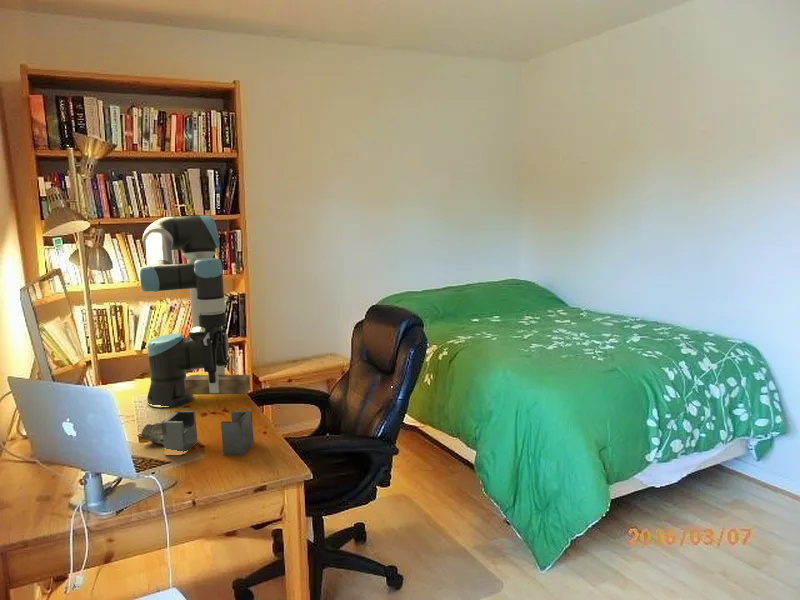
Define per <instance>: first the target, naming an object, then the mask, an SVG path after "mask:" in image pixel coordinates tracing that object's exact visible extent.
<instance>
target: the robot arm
mask: <svg viewBox="0 0 800 600" xmlns="http://www.w3.org/2000/svg"><path fill="white" fill-rule="evenodd" d="M219 237H220V235H219V231H218V228H217V224H216V221H215V218H213V217H212V216H210V215H198V214H197V215H185V216H183V215H181V216H165V217H163V218H159V219H157V220H155V221H154V222H152V223H150V225H148V226H147V227H146V229H145V230H144V233H143V234H142V245H143V248H144V250H146V265H144V266H141V267H140V268H139V276H140V278H139V279H140V287H141V290H142V291H143V292H146V293H147V292H154V293H155V292H156V293H157V292H163V291H176V290H189V297H190V308H191V309H190V311H191V321H192V328H190V329H189V331H188V337H187V336H185V337H184V335H183V334H182V333H177V332H176V333H169V334H164V335H160V336H158V337H156V338H153V339H151V340H150V341H148V345H147V357H148V361H149V365H148V366H149V374H150V375H149V376H150V385H149V388H148V389H149V390H148V393H147V397H146V400H147V404H148V403H149V404H152V405H161V406H169V408H174V407H175V408H176V407H180V406H183V405H186V404H188V403H190V402H191V401H193V399H194V395H185V384H184V380H185V379H186V378H187V371H193V370H202V369H203V370H204V373H207V375H208V379H209V391H210V393H219V392H220V390H219V377H218V375H226V368H225V366H227V365H228V357H229V335H228V334H227V332H226V331H227V329H226V328H223V326H226V324H227V314H226V312H225V311H226V299H225V293H224V291H225V290H224V275H223V271H224V269H223V266H222V265H223V263H222V260H221V259H220V258H216V257H214V256H215V255H216V253H217V249H218V248H220V247H221V246H220V243H221V242H220V238H219ZM174 250H175V251H181V256H183V258H185V259H186V263H176V264H174V261H173V253H172V251H174Z"/></svg>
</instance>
